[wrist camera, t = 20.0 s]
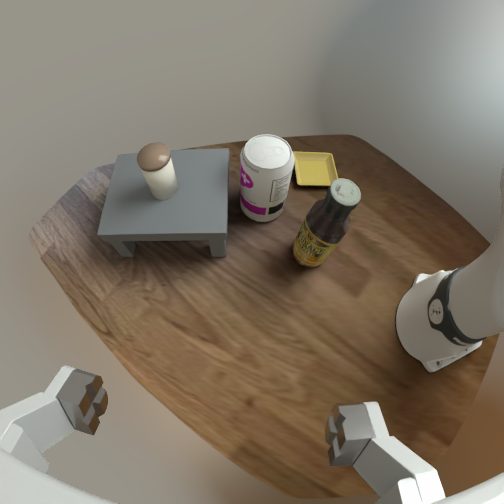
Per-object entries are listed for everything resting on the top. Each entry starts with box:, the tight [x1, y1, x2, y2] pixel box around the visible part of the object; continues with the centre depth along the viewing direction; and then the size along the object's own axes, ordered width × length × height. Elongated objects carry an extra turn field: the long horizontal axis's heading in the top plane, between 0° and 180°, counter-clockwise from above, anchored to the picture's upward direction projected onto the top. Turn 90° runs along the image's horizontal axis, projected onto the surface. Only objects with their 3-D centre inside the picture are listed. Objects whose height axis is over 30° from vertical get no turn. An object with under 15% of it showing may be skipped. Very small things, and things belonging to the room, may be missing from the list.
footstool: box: [97, 149, 229, 257], centre depth 50 cm, size 20×16×10 cm
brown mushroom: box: [137, 143, 179, 200], centre depth 41 cm, size 5×5×8 cm
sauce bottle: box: [293, 178, 361, 268], centre depth 43 cm, size 7×6×20 cm
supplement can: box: [240, 134, 295, 222], centre depth 49 cm, size 8×8×15 cm
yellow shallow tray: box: [293, 152, 338, 186], centre depth 59 cm, size 9×9×2 cm
